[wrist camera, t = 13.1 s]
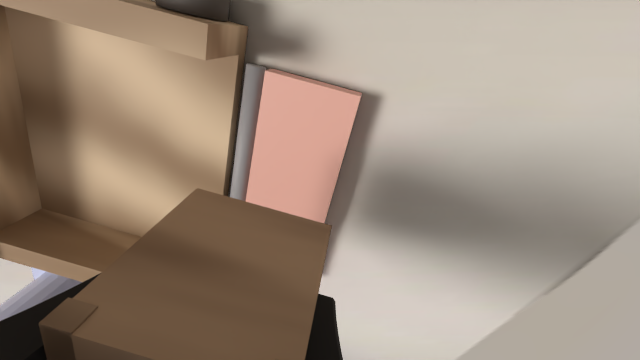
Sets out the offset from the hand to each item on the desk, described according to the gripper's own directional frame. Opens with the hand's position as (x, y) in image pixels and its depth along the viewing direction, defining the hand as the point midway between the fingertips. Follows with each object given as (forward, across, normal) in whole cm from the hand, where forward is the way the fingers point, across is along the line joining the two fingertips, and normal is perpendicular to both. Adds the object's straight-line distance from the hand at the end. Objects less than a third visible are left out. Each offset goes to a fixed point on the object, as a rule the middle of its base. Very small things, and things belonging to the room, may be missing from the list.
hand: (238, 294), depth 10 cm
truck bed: (+8, +9, 0) cm, 12 cm away
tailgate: (+8, +3, 0) cm, 8 cm away
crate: (+2, 0, 0) cm, 2 cm away
